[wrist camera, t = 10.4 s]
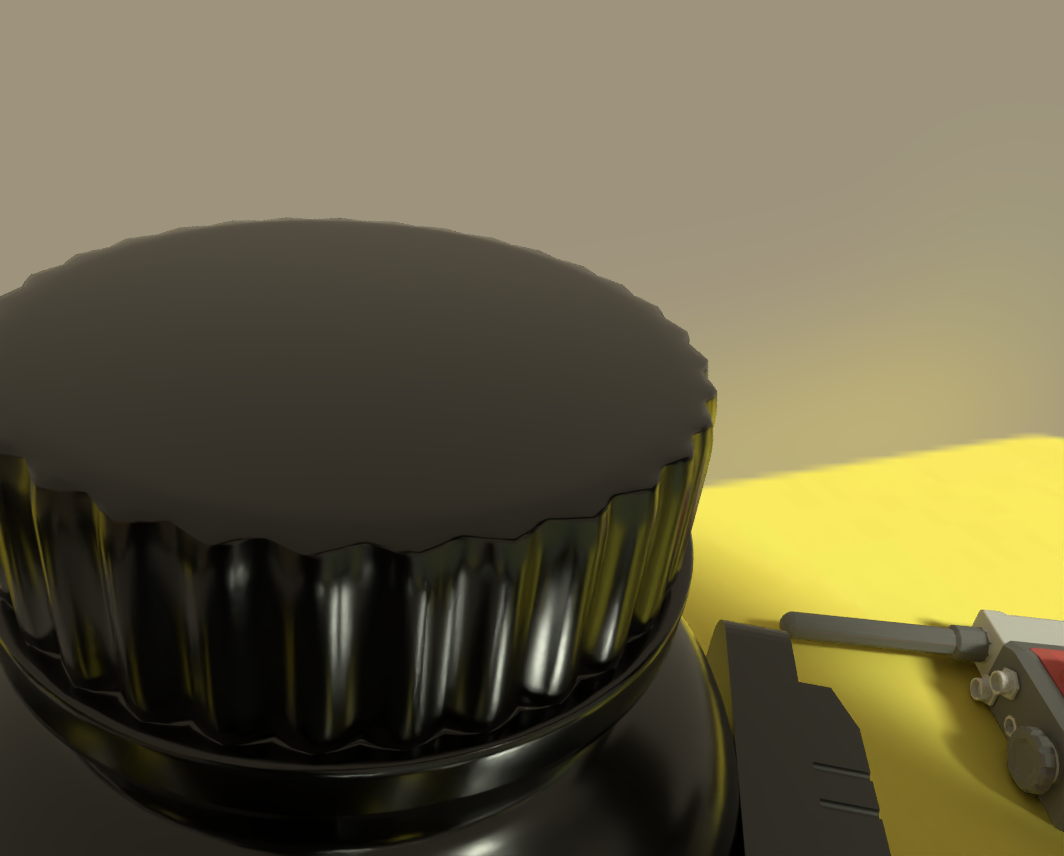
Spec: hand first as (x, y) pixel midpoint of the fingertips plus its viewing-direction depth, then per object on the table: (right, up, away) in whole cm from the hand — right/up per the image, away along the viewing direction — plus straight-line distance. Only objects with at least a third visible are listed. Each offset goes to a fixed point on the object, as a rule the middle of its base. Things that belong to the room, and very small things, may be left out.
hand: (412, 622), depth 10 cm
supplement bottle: (-1, -7, +2) cm, 8 cm away
